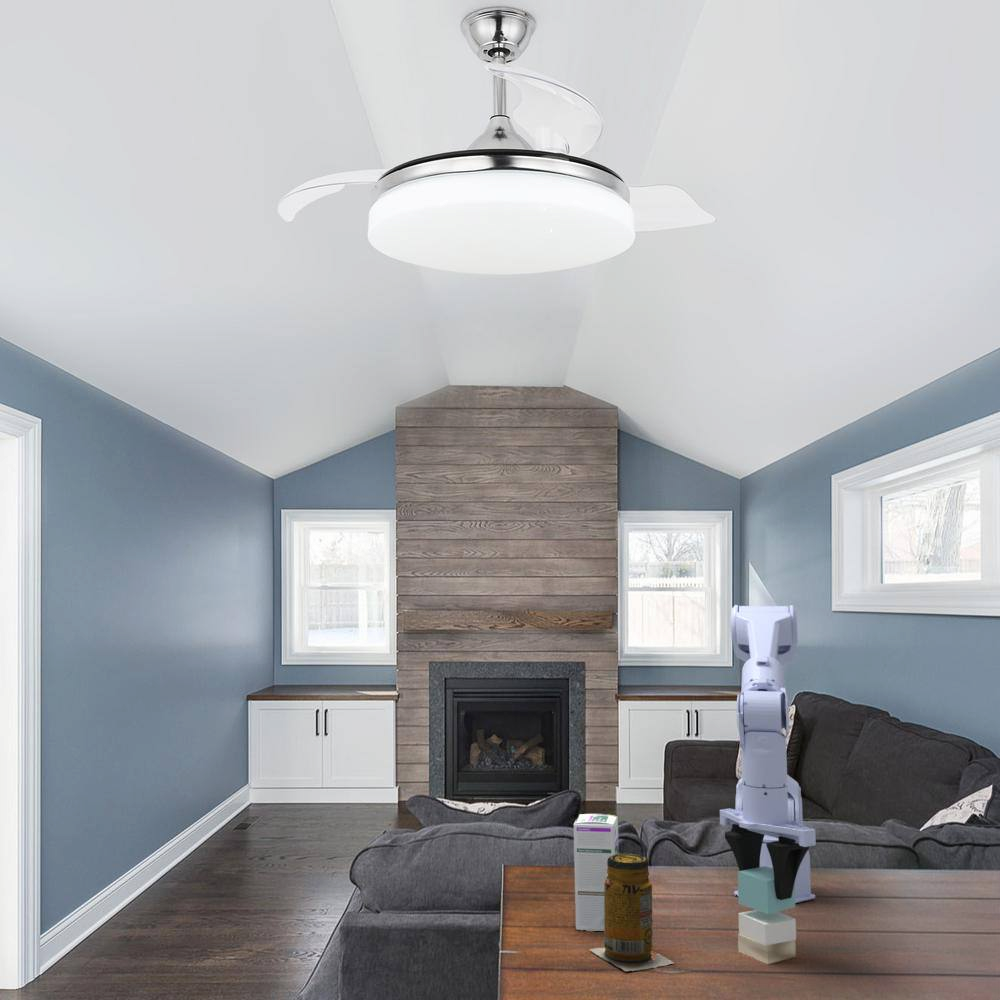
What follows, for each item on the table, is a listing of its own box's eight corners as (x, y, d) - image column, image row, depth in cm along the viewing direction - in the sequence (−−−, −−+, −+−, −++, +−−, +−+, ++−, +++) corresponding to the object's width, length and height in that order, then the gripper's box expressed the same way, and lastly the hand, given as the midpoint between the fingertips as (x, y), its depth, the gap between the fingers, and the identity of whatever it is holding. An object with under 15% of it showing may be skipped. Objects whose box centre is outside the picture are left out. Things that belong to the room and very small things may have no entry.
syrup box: (617, 933, 132) (616, 823, 134) (573, 930, 133) (573, 821, 135) (620, 920, 138) (619, 814, 139) (578, 917, 139) (578, 812, 140)
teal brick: (765, 897, 129) (764, 866, 129) (795, 907, 125) (794, 875, 125) (738, 903, 126) (737, 871, 127) (768, 914, 122) (767, 880, 123)
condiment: (636, 943, 129) (635, 849, 130) (675, 964, 121) (673, 864, 122) (588, 951, 125) (588, 855, 127) (625, 974, 118) (624, 871, 119)
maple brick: (766, 947, 128) (765, 927, 128) (795, 959, 124) (795, 938, 124) (738, 954, 125) (737, 934, 126) (767, 967, 121) (767, 946, 121)
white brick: (769, 927, 128) (768, 907, 128) (796, 939, 124) (795, 919, 124) (738, 933, 126) (738, 913, 126) (765, 945, 122) (764, 924, 122)
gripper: (702, 778, 131) (704, 883, 130) (786, 797, 119) (789, 912, 118) (740, 773, 135) (742, 875, 133) (825, 791, 123) (829, 903, 121)
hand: (767, 892), depth 126 cm, fingers closed on teal brick, 5 cm apart
